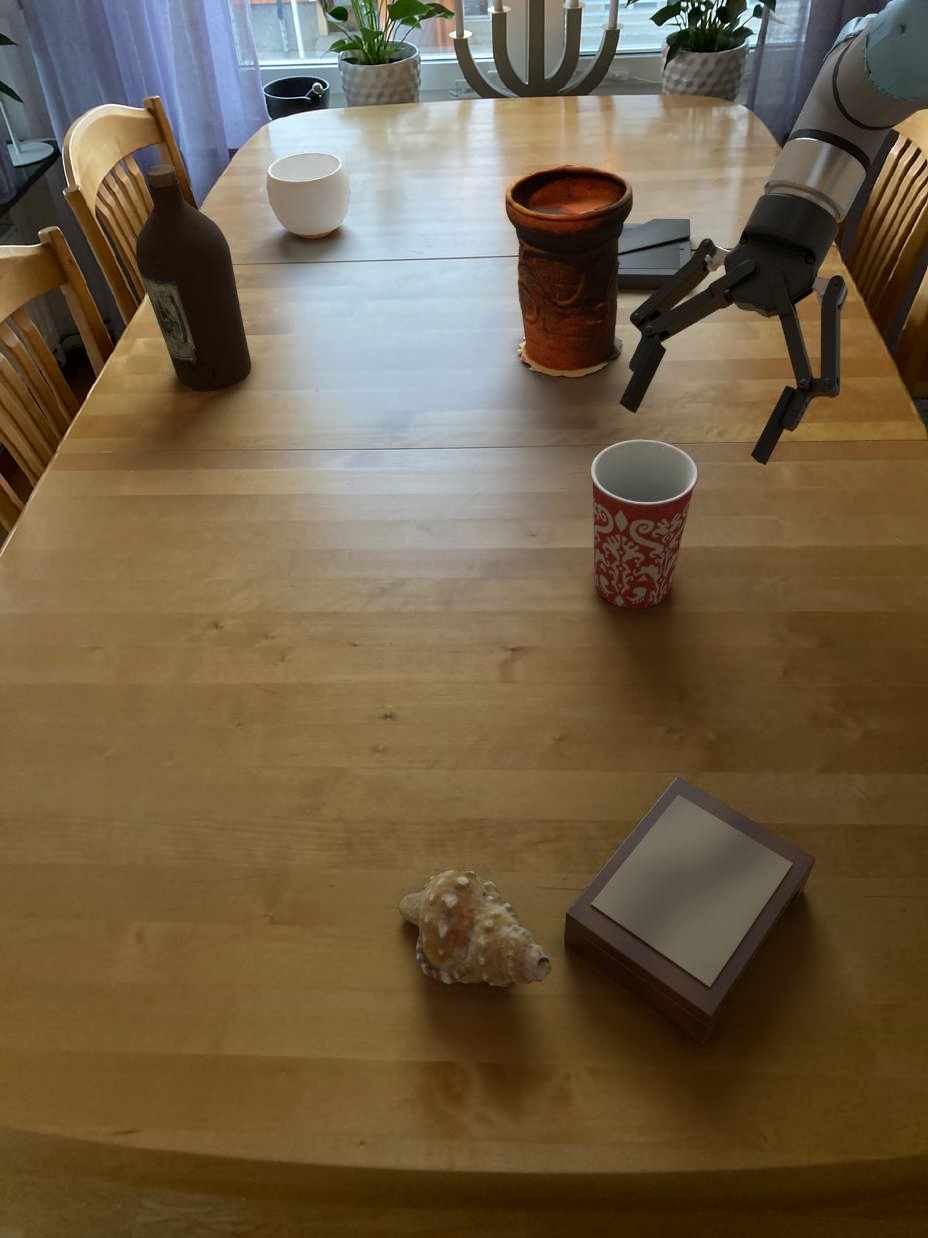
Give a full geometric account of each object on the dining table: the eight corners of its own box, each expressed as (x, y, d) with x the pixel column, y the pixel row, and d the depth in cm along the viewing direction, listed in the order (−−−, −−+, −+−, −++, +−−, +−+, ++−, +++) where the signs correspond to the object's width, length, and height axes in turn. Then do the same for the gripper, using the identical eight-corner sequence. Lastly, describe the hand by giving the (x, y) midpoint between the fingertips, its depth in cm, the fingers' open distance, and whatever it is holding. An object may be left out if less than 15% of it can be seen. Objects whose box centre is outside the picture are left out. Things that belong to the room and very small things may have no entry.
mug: (661, 629, 88) (676, 514, 78) (569, 599, 91) (573, 485, 81) (706, 545, 95) (726, 431, 86) (620, 520, 99) (630, 408, 89)
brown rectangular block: (803, 890, 69) (817, 856, 66) (702, 1045, 62) (711, 1016, 59) (671, 809, 75) (677, 773, 71) (563, 943, 68) (565, 911, 64)
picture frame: (687, 237, 142) (545, 236, 144) (689, 218, 140) (546, 217, 142) (690, 289, 131) (537, 287, 134) (692, 269, 129) (537, 267, 132)
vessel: (491, 335, 125) (485, 177, 111) (590, 310, 129) (597, 153, 114) (536, 390, 116) (536, 226, 102) (642, 362, 119) (657, 198, 105)
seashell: (528, 917, 72) (583, 902, 64) (481, 1021, 69) (533, 1020, 60) (424, 853, 72) (465, 829, 63) (370, 954, 68) (406, 944, 59)
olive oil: (223, 340, 128) (172, 143, 110) (273, 367, 123) (229, 164, 105) (156, 375, 123) (91, 173, 105) (205, 404, 118) (146, 197, 100)
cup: (274, 219, 154) (261, 156, 147) (350, 209, 155) (342, 146, 148) (277, 253, 145) (264, 188, 138) (359, 242, 146) (350, 177, 139)
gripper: (945, 264, 82) (826, 493, 85) (689, 196, 94) (592, 399, 97) (939, 225, 75) (810, 474, 79) (664, 158, 87) (562, 377, 91)
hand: (690, 433), depth 88 cm, fingers open, 13 cm apart
